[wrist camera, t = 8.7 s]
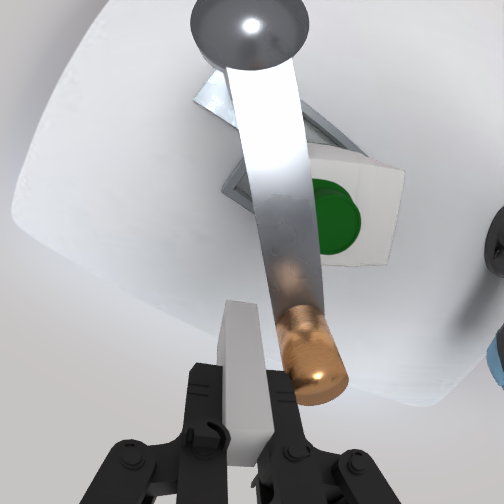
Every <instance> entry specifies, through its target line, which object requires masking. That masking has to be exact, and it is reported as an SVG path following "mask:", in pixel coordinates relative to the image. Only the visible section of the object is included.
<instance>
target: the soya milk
mask: <svg viewBox="0 0 504 504" xmlns="http://www.w3.org/2000/svg"><path fill="white" fill-rule="evenodd" d="M307 147H308V154H309V161H310V168H311V176H312V183H313V191H314V199H315V208H316V217H317V226H318V236H319V246H320V257H321V265H327V266H346V267H359V265H387V262H388V258H389V254H390V250H391V245H392V241H393V236H394V232H395V227H396V222H397V217H398V212H399V206H400V201H401V195H402V189H403V182H404V176H405V171H403V170H401V169H398V168H395V167H393V166H390V165H387V164H385V163H382V162H380V161H377V160H374V159H372V158H369V157H366V156H364V155H363V154H361V153H359V152H354V151H350V150H347V149H343V148H339V147H335V146H331V145H327V144H321V143H311V142H307Z"/></svg>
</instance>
